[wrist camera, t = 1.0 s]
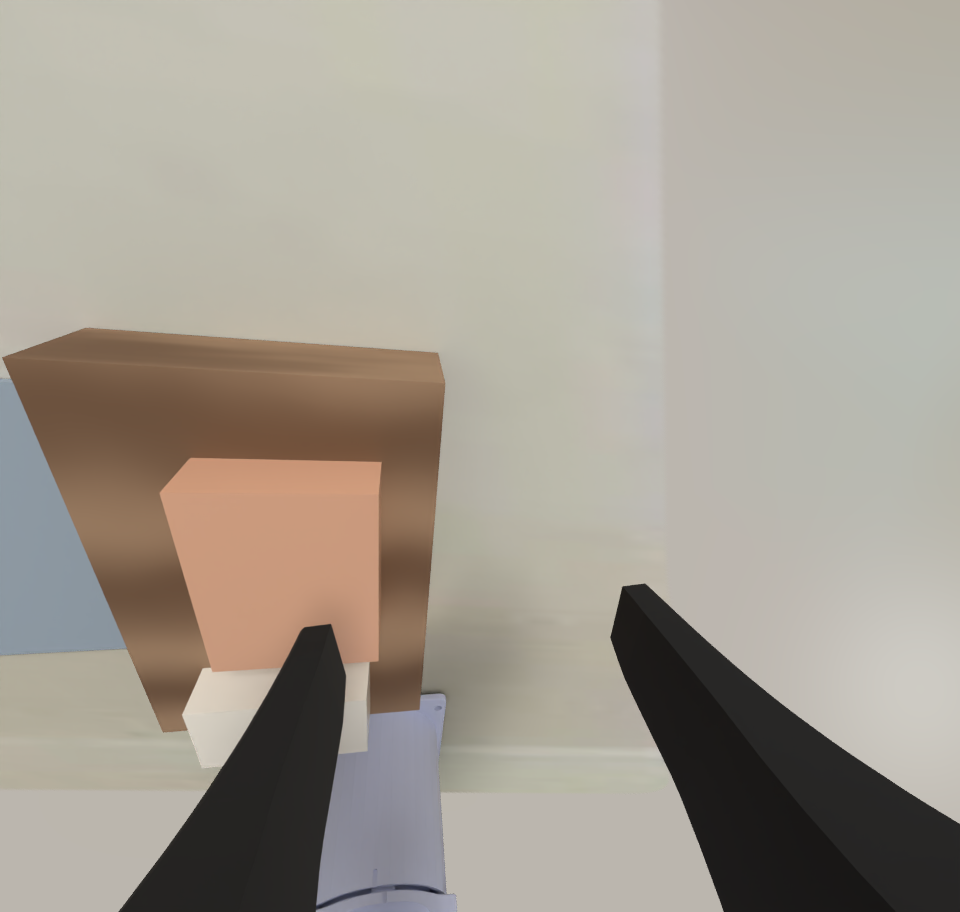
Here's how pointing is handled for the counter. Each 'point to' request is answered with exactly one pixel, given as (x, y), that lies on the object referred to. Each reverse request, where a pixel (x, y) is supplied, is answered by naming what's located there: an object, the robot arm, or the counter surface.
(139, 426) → the brown wooden block
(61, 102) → the counter surface
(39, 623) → the mat
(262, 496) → the terracotta tile
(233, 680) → the cream tile
